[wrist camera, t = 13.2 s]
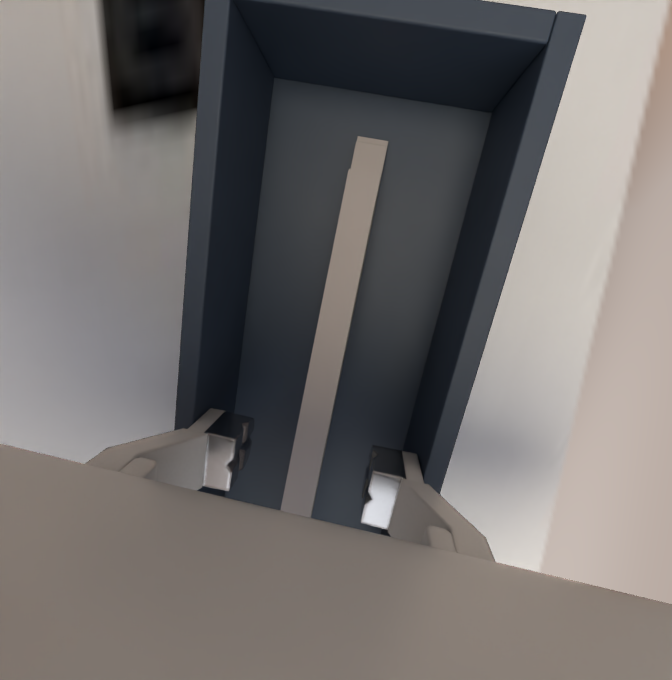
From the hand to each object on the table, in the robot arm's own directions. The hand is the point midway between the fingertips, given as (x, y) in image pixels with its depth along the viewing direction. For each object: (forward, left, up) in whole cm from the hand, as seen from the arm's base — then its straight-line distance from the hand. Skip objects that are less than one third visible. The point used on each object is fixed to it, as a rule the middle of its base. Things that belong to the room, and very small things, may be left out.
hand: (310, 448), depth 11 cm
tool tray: (0, 0, -3) cm, 3 cm away
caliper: (0, 0, -2) cm, 2 cm away
